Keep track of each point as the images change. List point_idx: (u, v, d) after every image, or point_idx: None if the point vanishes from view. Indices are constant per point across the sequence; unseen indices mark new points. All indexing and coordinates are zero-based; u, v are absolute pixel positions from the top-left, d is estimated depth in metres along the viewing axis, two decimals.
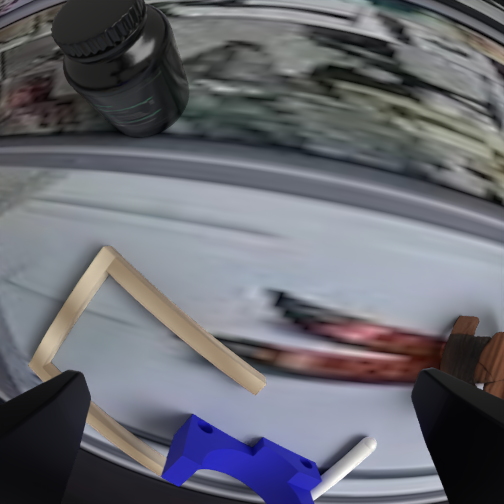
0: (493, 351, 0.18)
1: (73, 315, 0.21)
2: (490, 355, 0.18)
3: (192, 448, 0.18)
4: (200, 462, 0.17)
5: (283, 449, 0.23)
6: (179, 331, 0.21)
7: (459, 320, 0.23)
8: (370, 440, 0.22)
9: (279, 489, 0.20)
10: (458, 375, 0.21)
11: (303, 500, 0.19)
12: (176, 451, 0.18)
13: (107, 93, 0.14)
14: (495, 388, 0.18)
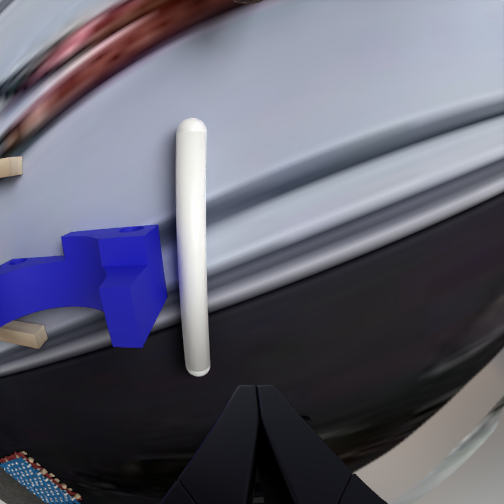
0: None
1: None
2: None
3: None
4: None
5: (96, 230, 0.17)
6: None
7: None
8: (182, 122, 0.15)
9: None
10: None
11: (114, 277, 0.14)
12: None
13: None
14: None
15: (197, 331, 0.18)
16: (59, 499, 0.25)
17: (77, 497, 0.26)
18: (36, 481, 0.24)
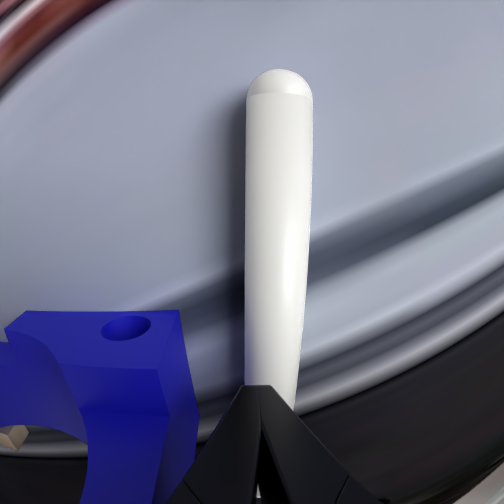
0: None
1: None
2: None
3: None
4: None
5: (62, 318, 0.09)
6: None
7: None
8: (261, 75, 0.07)
9: None
10: None
11: (106, 464, 0.05)
12: None
13: None
14: None
15: None
16: None
17: None
18: None
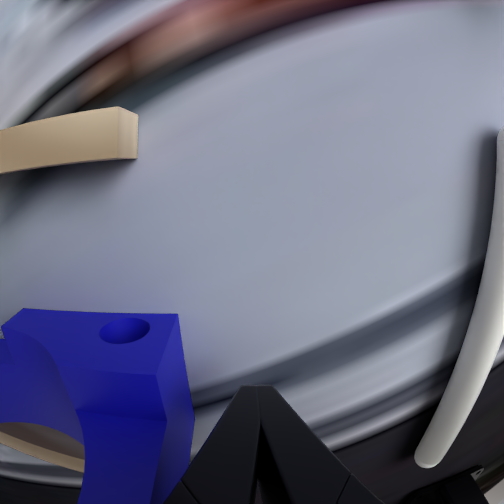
0: None
1: None
2: None
3: None
4: None
5: (60, 318, 0.08)
6: None
7: None
8: None
9: None
10: None
11: (103, 468, 0.05)
12: None
13: None
14: None
15: (463, 421, 0.10)
16: None
17: None
18: None
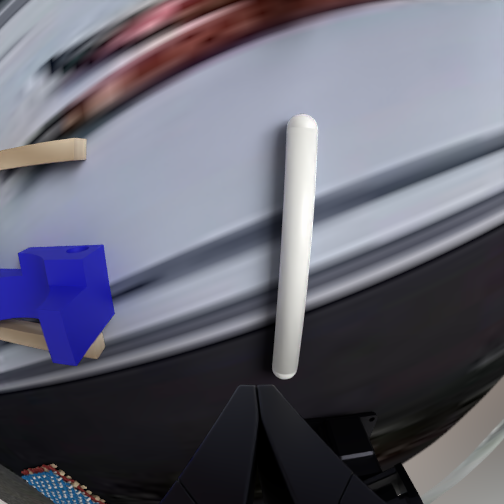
0: None
1: None
2: None
3: None
4: None
5: (49, 248, 0.17)
6: None
7: None
8: (294, 117, 0.15)
9: None
10: None
11: (53, 299, 0.13)
12: None
13: None
14: None
15: (294, 333, 0.17)
16: None
17: None
18: (65, 494, 0.24)
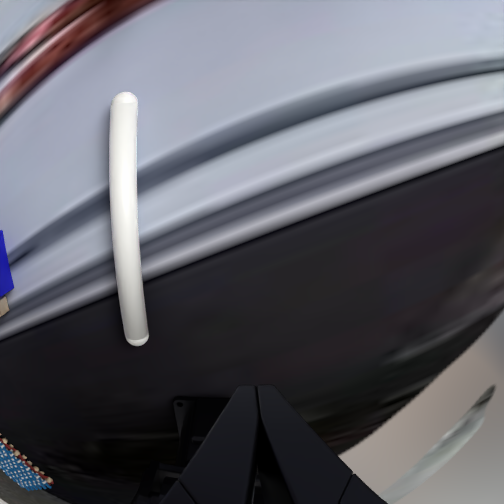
0: None
1: None
2: None
3: None
4: None
5: None
6: None
7: None
8: (115, 96, 0.15)
9: None
10: None
11: None
12: None
13: None
14: None
15: (130, 297, 0.17)
16: (32, 483, 0.25)
17: (49, 481, 0.25)
18: (10, 463, 0.24)
